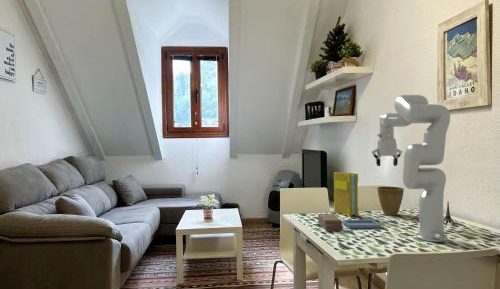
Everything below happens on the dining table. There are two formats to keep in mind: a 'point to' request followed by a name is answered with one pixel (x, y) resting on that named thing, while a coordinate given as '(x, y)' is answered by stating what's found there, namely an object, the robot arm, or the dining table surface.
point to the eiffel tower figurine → (448, 216)
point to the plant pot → (390, 199)
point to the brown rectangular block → (330, 222)
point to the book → (346, 193)
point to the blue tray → (361, 224)
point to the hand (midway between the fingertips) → (386, 165)
